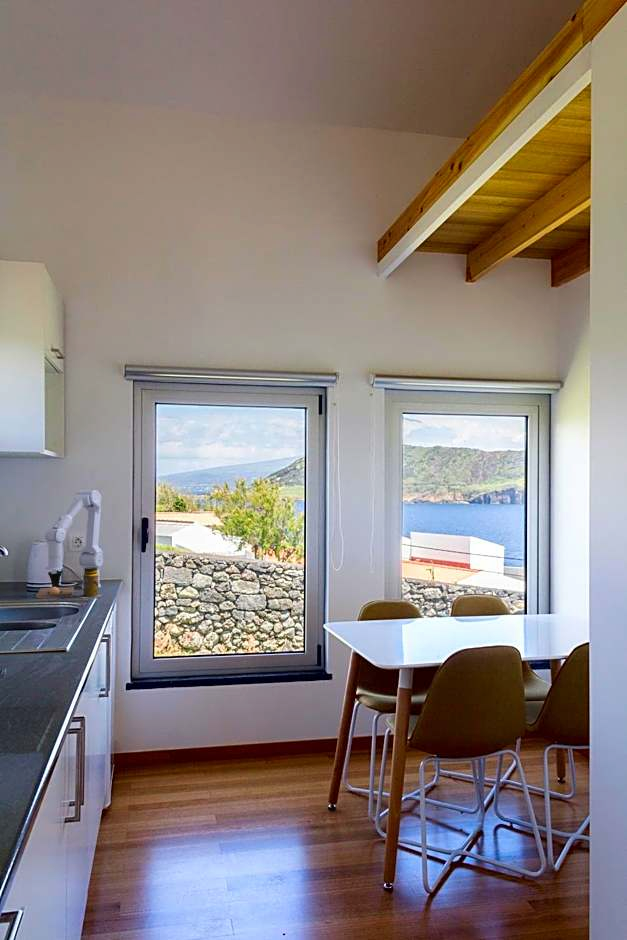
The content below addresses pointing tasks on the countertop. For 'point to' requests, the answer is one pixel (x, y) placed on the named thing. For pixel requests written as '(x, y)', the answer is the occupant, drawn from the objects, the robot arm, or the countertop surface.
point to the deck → (62, 594)
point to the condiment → (90, 583)
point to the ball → (54, 590)
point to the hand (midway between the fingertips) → (55, 588)
